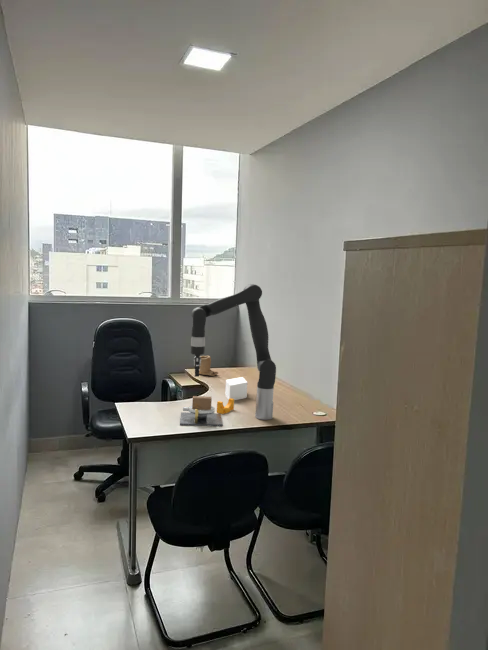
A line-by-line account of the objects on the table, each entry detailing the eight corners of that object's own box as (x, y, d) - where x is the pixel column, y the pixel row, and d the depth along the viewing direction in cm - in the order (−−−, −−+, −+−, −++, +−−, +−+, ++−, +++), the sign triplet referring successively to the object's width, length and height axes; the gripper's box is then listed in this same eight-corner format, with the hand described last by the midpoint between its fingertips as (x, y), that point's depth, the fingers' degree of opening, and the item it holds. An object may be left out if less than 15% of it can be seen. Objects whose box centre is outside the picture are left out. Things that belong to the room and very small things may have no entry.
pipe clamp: (222, 414, 279) (222, 403, 278) (216, 412, 282) (217, 401, 281) (235, 410, 288) (236, 399, 288) (230, 409, 291) (230, 398, 290)
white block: (252, 393, 333) (252, 378, 332) (240, 403, 306) (241, 386, 304) (231, 390, 337) (232, 375, 336) (218, 400, 309) (219, 384, 308)
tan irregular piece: (193, 374, 380) (194, 355, 379) (202, 372, 391) (203, 353, 389) (210, 377, 373) (211, 358, 371) (218, 375, 383) (219, 356, 382)
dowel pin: (197, 422, 258) (198, 409, 257) (197, 423, 256) (198, 410, 256) (194, 422, 258) (195, 409, 257) (194, 423, 256) (195, 409, 256)
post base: (220, 415, 277) (221, 407, 276) (222, 426, 257) (222, 417, 256) (181, 414, 274) (181, 405, 274) (179, 425, 255) (180, 416, 254)
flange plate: (214, 407, 273) (214, 394, 272) (215, 415, 259) (215, 401, 258) (183, 406, 271) (184, 393, 270) (182, 414, 257) (183, 400, 256)
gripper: (204, 347, 258) (203, 377, 259) (204, 343, 272) (204, 372, 273) (190, 346, 257) (189, 377, 259) (191, 342, 271) (190, 372, 273)
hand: (197, 374), depth 266 cm, fingers open, 8 cm apart
